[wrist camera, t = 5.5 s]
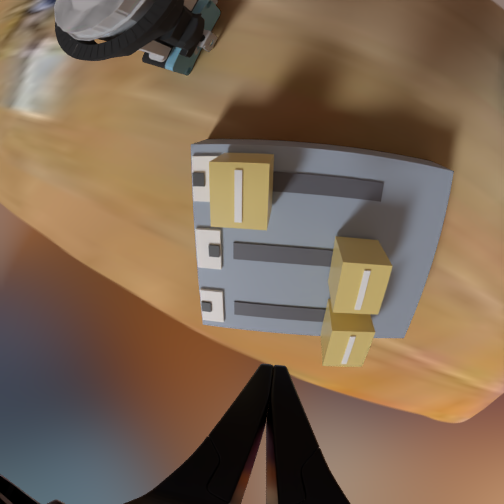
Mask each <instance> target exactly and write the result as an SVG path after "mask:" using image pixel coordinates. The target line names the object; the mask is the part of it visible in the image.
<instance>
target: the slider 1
mask: <svg viewBox="0 0 504 504" xmlns="http://www.w3.org/2000/svg"><path fill="white" fill-rule="evenodd" d="M273 169H274V154H259V153H223V154H221V155H220V156H218V157H216V158H214V159H213V160H211V161H209V189H210V220H211V227H224V228H239V229H253V230H267V228H268V224H269V219H270V215H271V210H272V193H273Z"/></svg>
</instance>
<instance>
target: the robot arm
mask: <svg viewBox="0 0 504 504" xmlns="http://www.w3.org/2000/svg"><path fill="white" fill-rule="evenodd" d="M268 405H269V406H268ZM267 412H268V413H267ZM266 419H267V422H266ZM265 424H266V504H350V502H349V501H348V499H347V498H346V496H345V495H344V493H343V491H342V490H341V488H340V486H339V485H338V484H337V482H336V480H335V478H334V476H333V475H332V473H331V471H330V470H329V467H328V465H327V463H326V461H325V459H324V456H323V454H322V452H321V449H320V448H319V445H318V442H317V440H316V438H315V435H314V433H313V430H312V428H311V425H310V423H309V421H308V418H307V416H306V413H305V411H304V408H303V406H302V404H301V401H300V399H299V396H298V394H297V391H296V389H295V387H294V384H293V382H292V379H291V377H290V374H289V372H288V369H287V367H286V366H281V365H275V366H274V367H273V365H271V364H261V365H260V366H259V367H258V369H257V370H256V372H255V373H254V375H253V376H252V377H251V379H250V380H249V382H248V383H247V385H246V386H245V387H244V389H243V390H242V391H241V393H240V394H239V396H238V397H237V398H236V400H235V401H234V402H233V404H232V405H231V406H230V408H229V409H228V410H227V412H226V413H225V414H224V416H223V417H222V418H221V420H220V421H219V422H218V423H217V425H216V426H215V427H214V429H213V430H212V431H211V433H210V434H209V437H206V439H205V440H204V441H203V443H202V444H201V445H200V446H199V447H198V448H197V450H196V451H195V452H194V453H193V454H192V455H191V456H190V457H189V458H188V459H187V460H186V461H185V462H184V463H183V464H182V465H181V466H180V467H179V468H178V469H176V470H175V471H174V472H173V473H172V474H171V475H170V476H169V477H167V478H166V479H165V480H164V481H162V482H161V483H160V484H159V485H158V486H157V487H155V488H154V489H153V490H151V491H150V492H148V493H147V494H145V495H143V496H141V497H139V498H137V499H134V500H132V501H129V502H127V503H124V504H241V502H242V499H243V496H244V492H245V490H246V487H247V484H248V481H249V477H250V474H251V471H252V468H253V465H254V462H255V459H256V455H257V452H258V449H259V445H260V442H261V439H262V435H263V432H264V428H265ZM0 504H40V503H39V502H37V501H36V500H35V499H33V498H32V497H30V496H29V495H28V494H26V493H25V492H24V491H23V490H21V489H20V488H19V487H17V486H16V485H14V484H13V483H12V482H10V481H9V480H8V479H6V478H5V477H4V476H2V475H1V474H0ZM47 504H65V503H63V502H61V501H59V500H53V501H51V502H49V503H47Z"/></svg>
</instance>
